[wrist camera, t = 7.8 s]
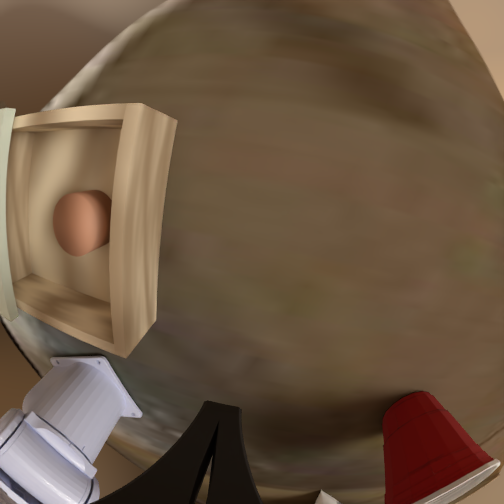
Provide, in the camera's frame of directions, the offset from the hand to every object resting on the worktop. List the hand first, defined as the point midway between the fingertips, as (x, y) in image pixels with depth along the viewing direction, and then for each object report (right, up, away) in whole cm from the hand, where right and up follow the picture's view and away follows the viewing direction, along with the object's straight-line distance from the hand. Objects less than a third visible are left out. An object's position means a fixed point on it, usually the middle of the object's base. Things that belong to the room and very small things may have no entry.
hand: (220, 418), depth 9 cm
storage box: (-12, +9, +8) cm, 17 cm away
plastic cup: (+17, -9, +11) cm, 22 cm away
